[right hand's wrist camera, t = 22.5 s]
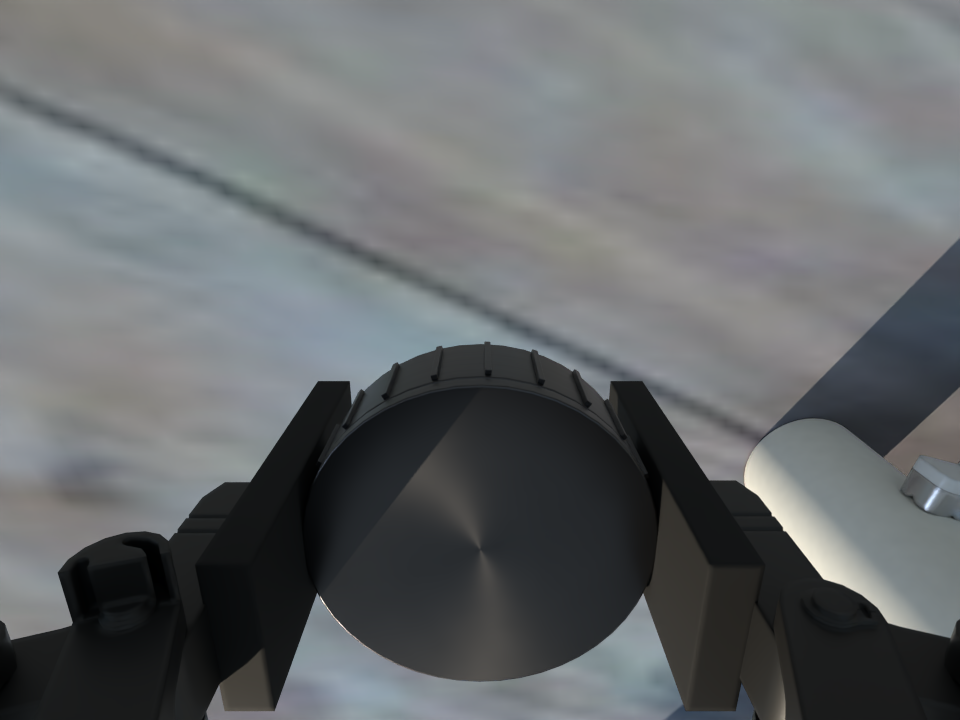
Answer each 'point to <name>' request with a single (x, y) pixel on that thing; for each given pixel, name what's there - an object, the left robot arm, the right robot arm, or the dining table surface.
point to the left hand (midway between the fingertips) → (871, 559)
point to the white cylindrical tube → (860, 522)
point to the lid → (480, 516)
